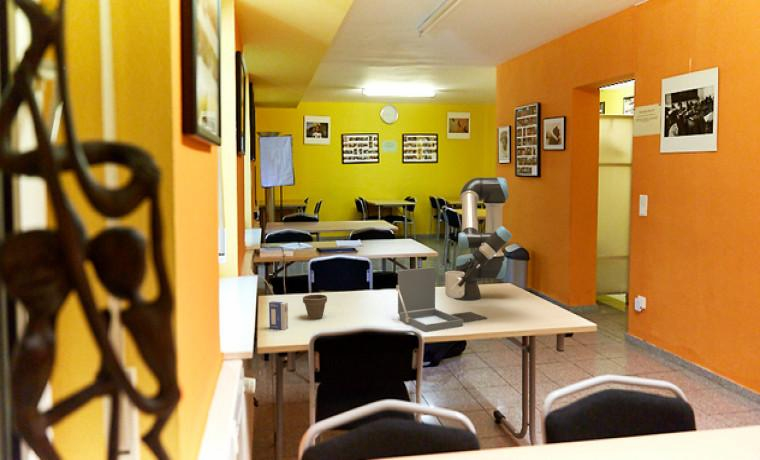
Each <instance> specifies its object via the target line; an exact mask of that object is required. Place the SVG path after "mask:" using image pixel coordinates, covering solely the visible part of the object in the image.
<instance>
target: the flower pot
mask: <svg viewBox="0 0 760 460" xmlns="http://www.w3.org/2000/svg"><path fill="white" fill-rule="evenodd" d="M302 303H303V304H304V306H305V311H306V313H307V317H308V319H310V320H319V319H322V318H323V316H324V312H325V309H326V307H325V306H326V303H328V295H326V294H325V295H324V294H308V295H304V296H302Z"/></svg>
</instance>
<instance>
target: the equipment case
mask: <svg viewBox="0 0 760 460" xmlns="http://www.w3.org/2000/svg"><path fill="white" fill-rule="evenodd" d="M395 288H396V289H395V290H396V291H397V314H398V316H399V317H398V318H399V319H398V320H399V321H401V322H403V323H405V324H407V325H409V326H411V327H414V328H416V329H418V330H420V331H422V332H423V333H424V332H425V333H427V332H434V331H435V332H436V331H440V330H446V329H447V330H448V329H454V328H459V327H464V323H463V319H460V318H458V317H455V316H452V315H451V314H449V313H447V312H445V311H442V310H439V309H436V267H435V266H433V267H432V266H431V267H420V268H410V269H409V268H408V269H399V270H397V284H396V285H395ZM427 317H436V318H440V319H442V320H445V321H442V322H433V323H427V324H426V323H424V322H421V321H419V320H417V319H420V318H427Z"/></svg>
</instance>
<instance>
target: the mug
mask: <svg viewBox="0 0 760 460" xmlns="http://www.w3.org/2000/svg"><path fill="white" fill-rule="evenodd" d="M464 275H465V273H464V272H461V271H456V270H449V271H446V272H445V282H444V283H445V284H444V285H445V289H444V290H445V291H444V292H445V293H444V295H445V296H446V297H447V298H451V299H455V298H461V297H463V296H464V291H465V284H464V285H463V286H462V287H461V288H460V289H459V290H458V291H457V292H456V293H455V292H454V291H453V290H452V289H451V288H452V287H453V286H454V285H455V284H456V283H457V282H458V281H459V280H460V279H461V277H464Z"/></svg>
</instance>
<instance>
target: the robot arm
mask: <svg viewBox="0 0 760 460" xmlns="http://www.w3.org/2000/svg"><path fill="white" fill-rule="evenodd" d="M459 199H460V202H461V216H462V217H461V231H462V232H459V233H458V234H457V235H458V236H457V237H458V241H457V243H458V244H457V245H458V247H459V248H460V249H461V248H462V249H475V251H474V252H473V253H468V254H467V253H466V254H461V255H459V256H457V257H456V260H455V261H456V262H455V271H461V272H464V273H465V275H464V277H461V279H460V280H459V281H458V282H457V283H456V284H455V285H454V286H453V287H452V288H451V289H452V290H453V291H454V292H455V293H456V292H457V291H458V290H459V289H460V288H461V287H462V286H463V285H464V284H465V291H464V296H463V297H461V298H454V299H455V300H461V301H475V300H476V301H477V300H480V299H481V298H482V297H481V296H482V293H481V290H480V288H479V283H478V281H479V280H478V279H481V280H482V279H484V280H486V279H487V280H488V279H489V280H501V279H505V278H504V277H505V276H506V273H507V268H508V267H507V266H508V265H507V264H508V263H507V262H508V258H507V257H506V256H505V254H504V252H503V251H502V248H503V247H504V246H505V245H507V244H508V243H509V242H510V241H511V239H513V235H512V233H511V232H510V230H508V229H507V228H506V227H504V225H503V206H504V205H506V201H508V200H509V188H508V181H507V179H506V178H505V177H495V176H494V177H493V176H490V177H478V176H477V177H474V178H471V179H469V180H468V181H466V183H464V185H463V187H462V188H461V190H460V194H459ZM479 200H482V203H483V204H484V206H485V232H478V230H479V229H478V228H479V226H478V223H479V222H478V202H479Z"/></svg>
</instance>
